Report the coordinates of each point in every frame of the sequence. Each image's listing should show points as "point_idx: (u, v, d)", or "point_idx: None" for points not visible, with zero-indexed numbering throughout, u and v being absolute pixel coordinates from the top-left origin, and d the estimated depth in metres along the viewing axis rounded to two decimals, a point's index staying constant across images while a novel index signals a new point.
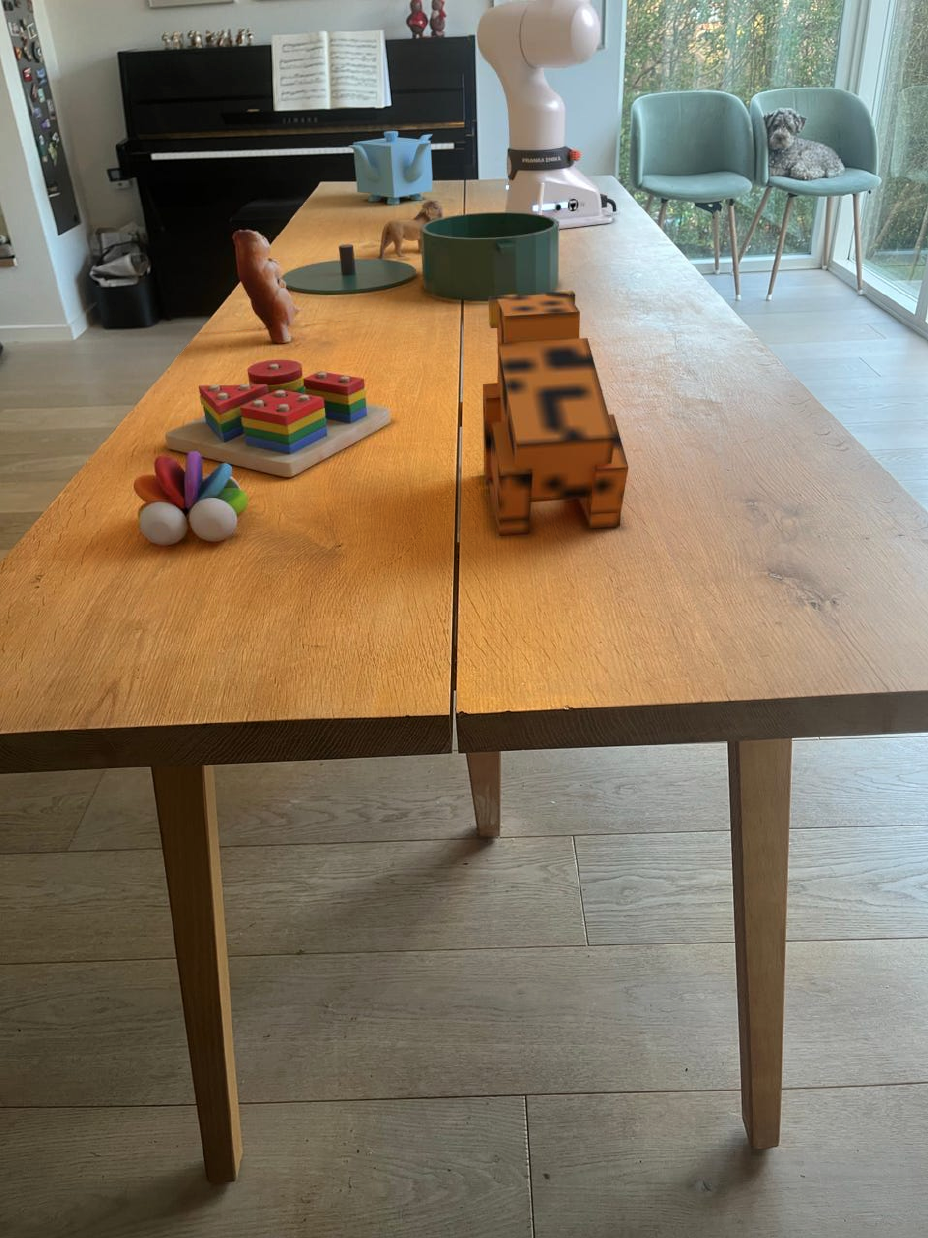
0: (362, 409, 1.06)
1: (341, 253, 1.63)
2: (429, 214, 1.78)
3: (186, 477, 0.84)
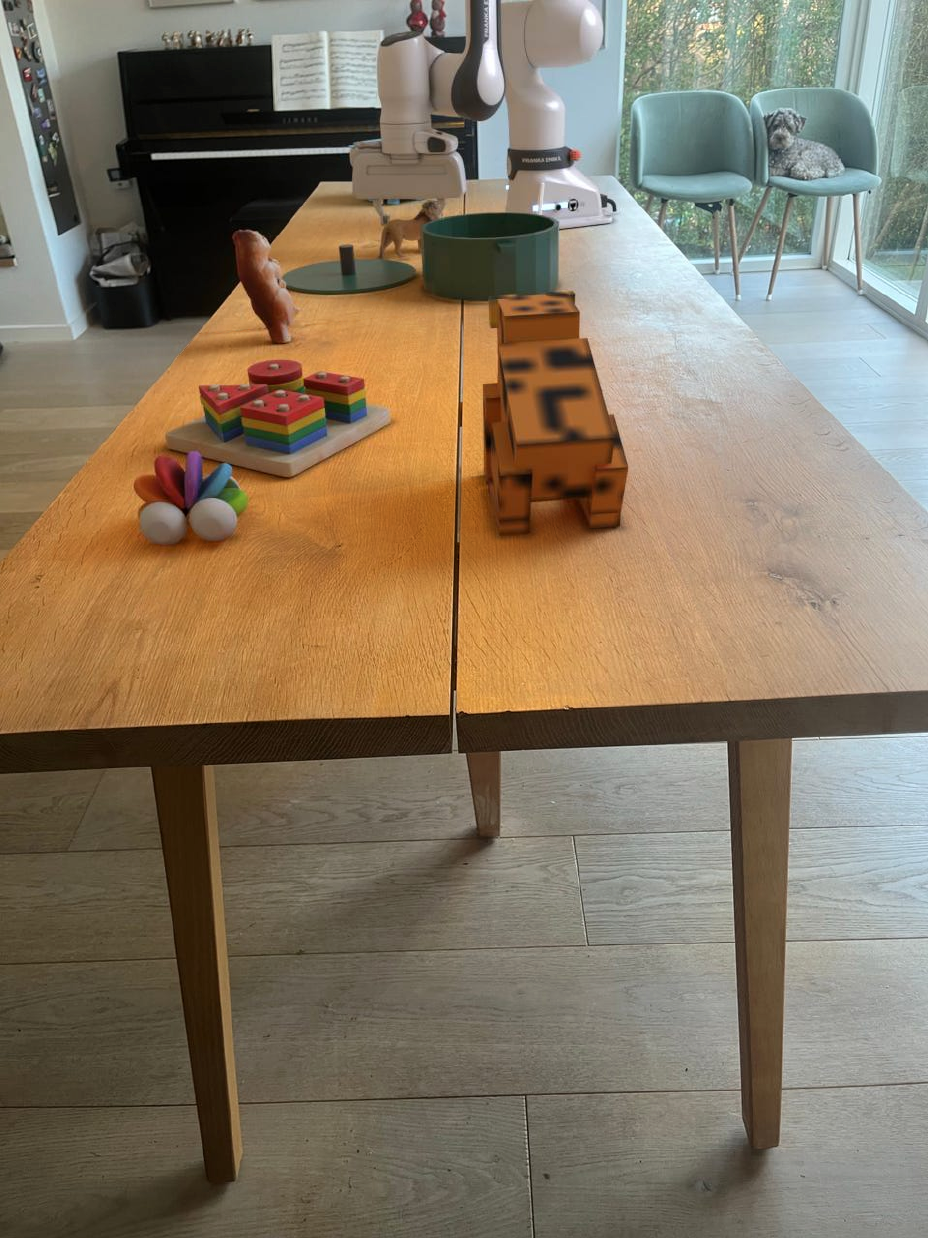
0: (362, 409, 1.06)
1: (341, 253, 1.63)
2: (429, 214, 1.78)
3: (186, 477, 0.84)
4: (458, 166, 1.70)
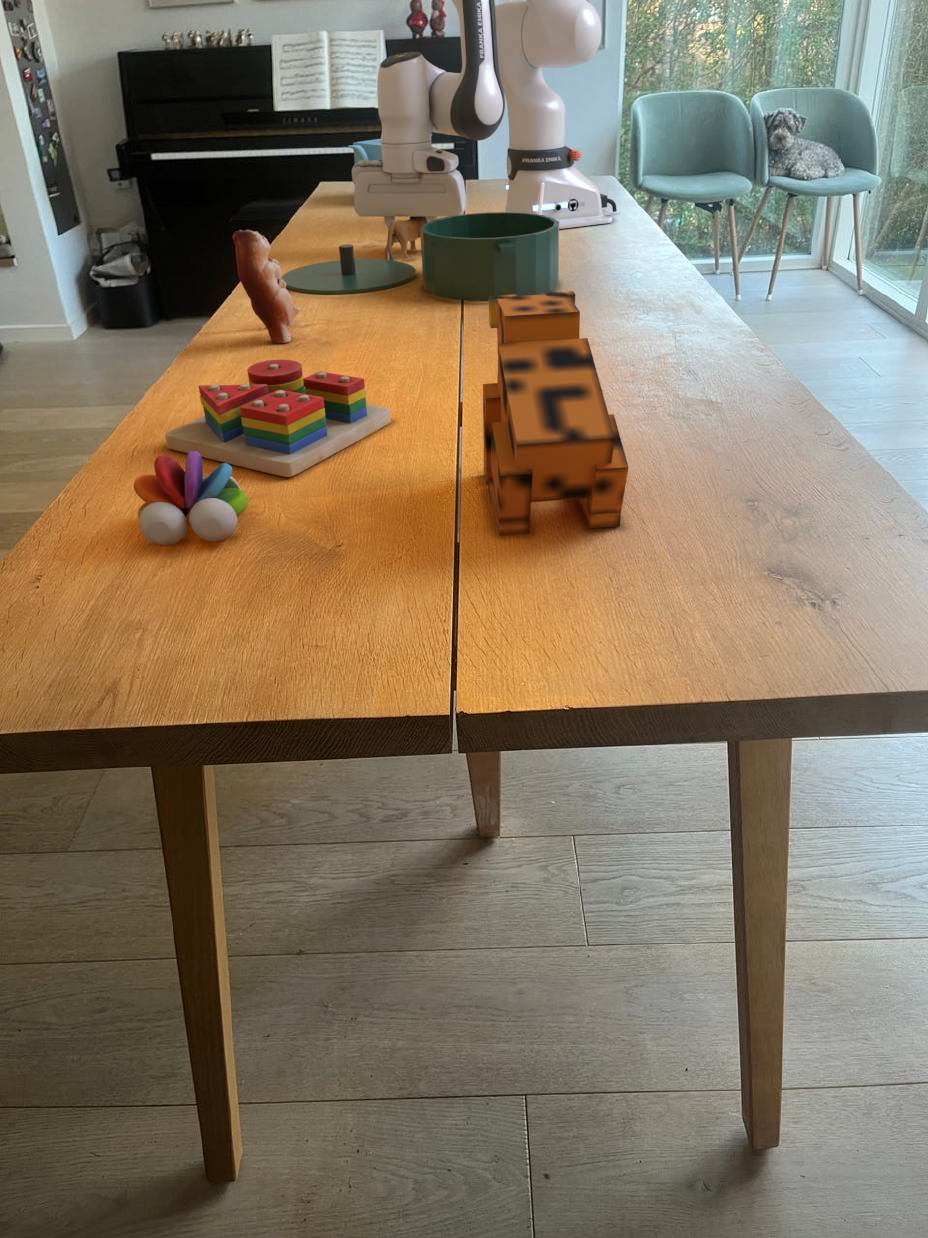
0: (362, 409, 1.06)
1: (341, 253, 1.63)
2: None
3: (186, 477, 0.84)
4: (457, 185, 1.71)
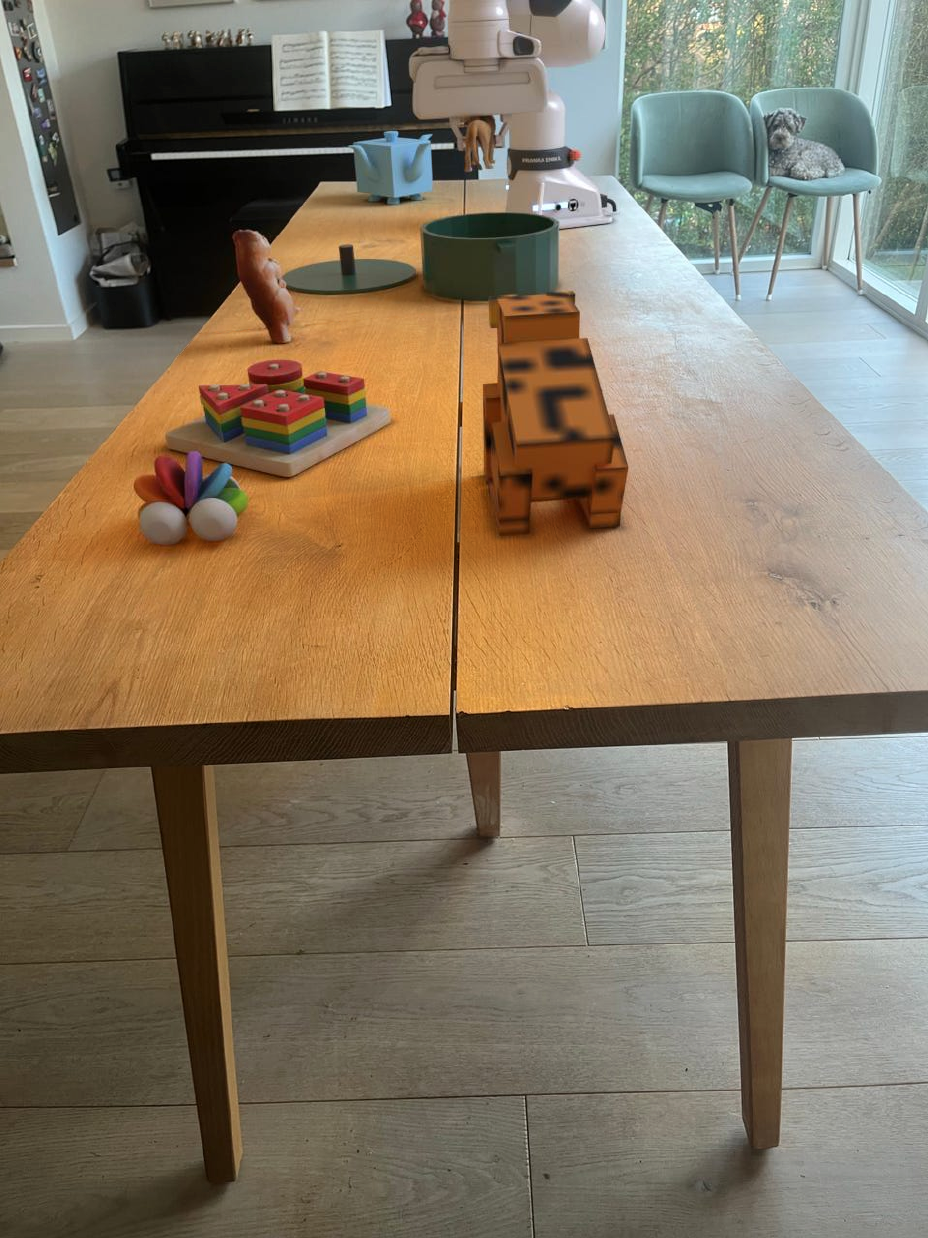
0: (362, 409, 1.06)
1: (341, 253, 1.63)
2: None
3: (186, 477, 0.84)
4: (545, 72, 1.44)
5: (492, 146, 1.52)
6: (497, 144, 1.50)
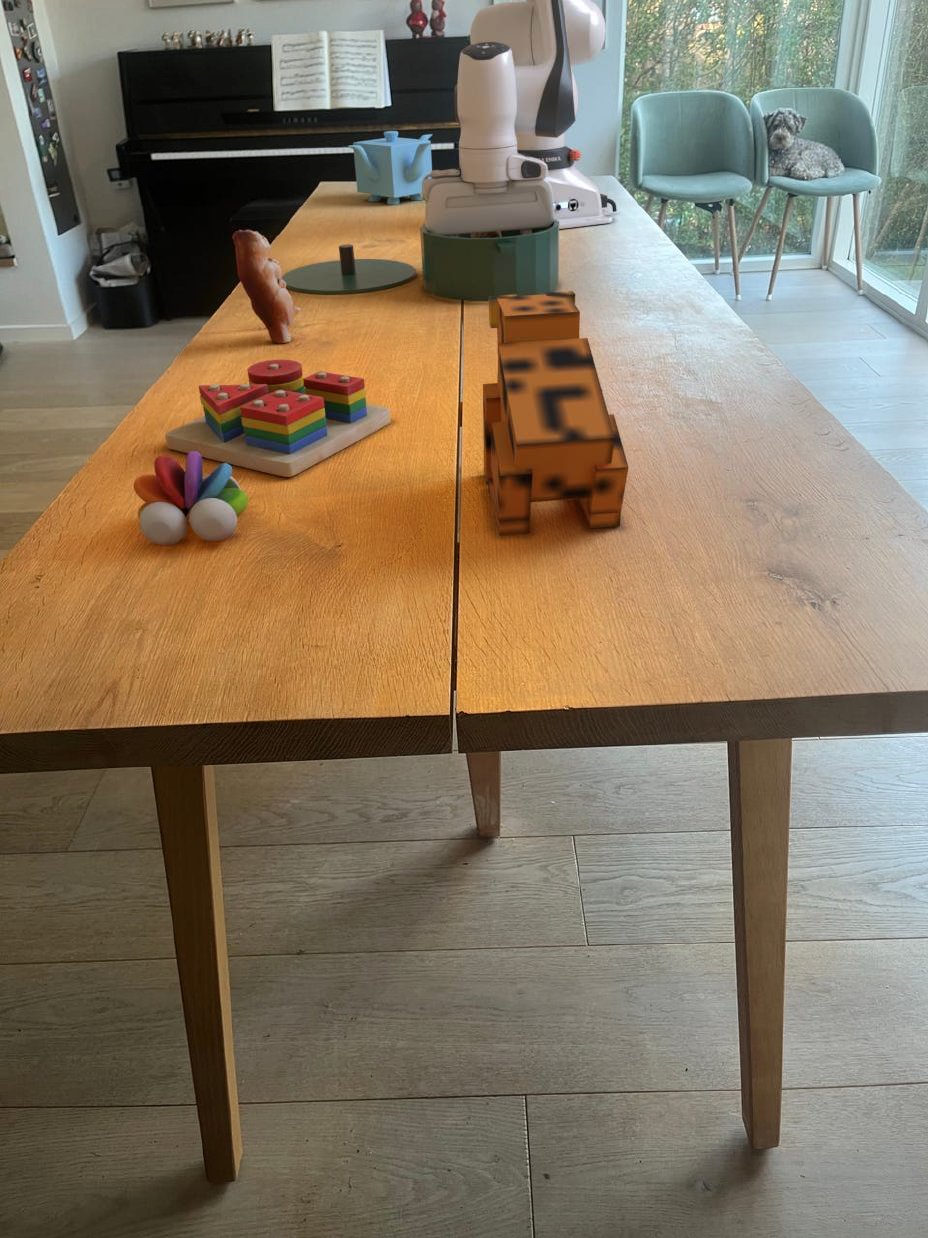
0: (362, 409, 1.06)
1: (341, 253, 1.63)
2: (499, 235, 1.58)
3: (186, 477, 0.84)
4: (551, 192, 1.51)
5: None
6: None
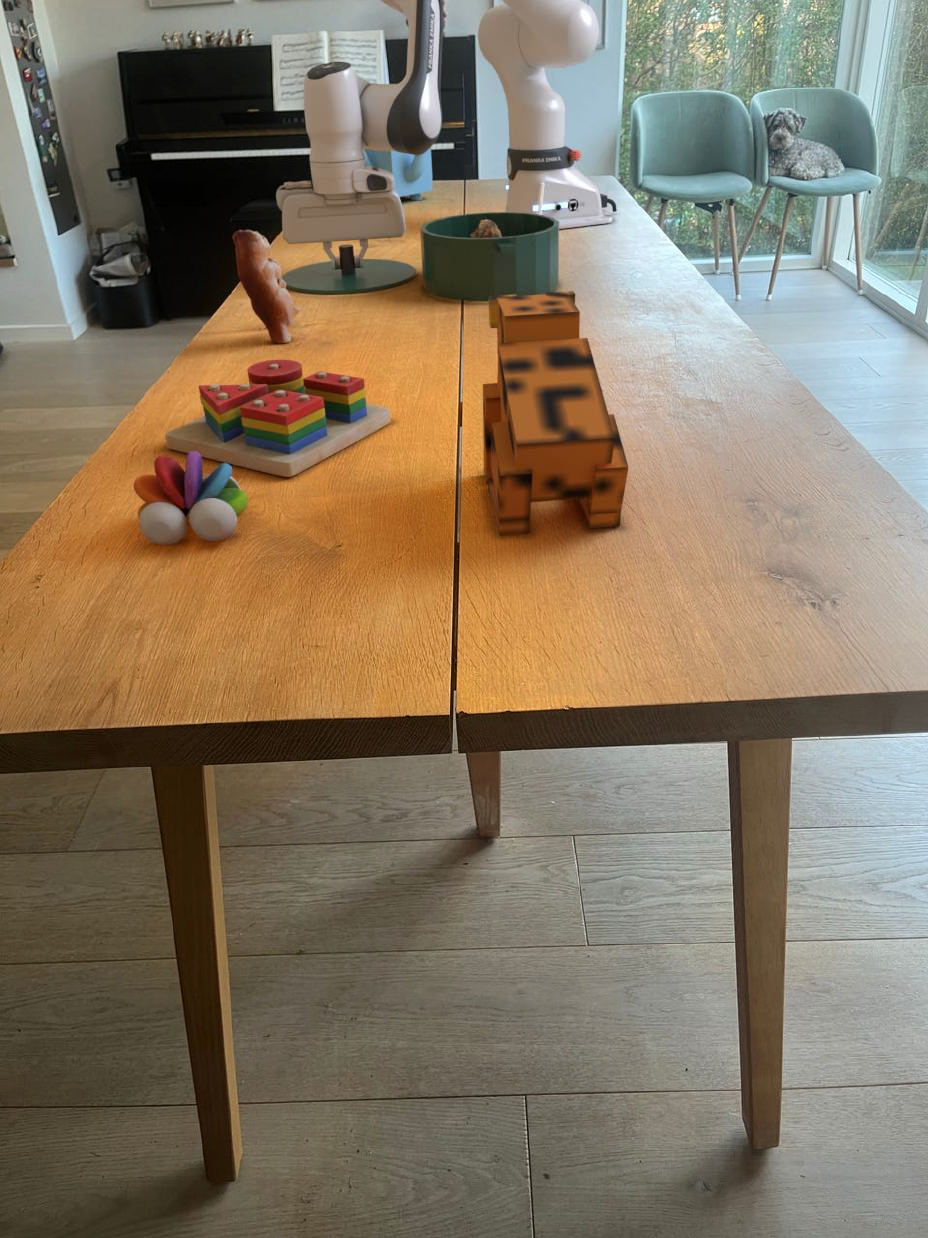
0: (362, 409, 1.06)
1: (341, 253, 1.63)
2: (499, 235, 1.58)
3: (186, 477, 0.84)
4: (400, 204, 1.59)
5: None
6: (356, 264, 1.65)
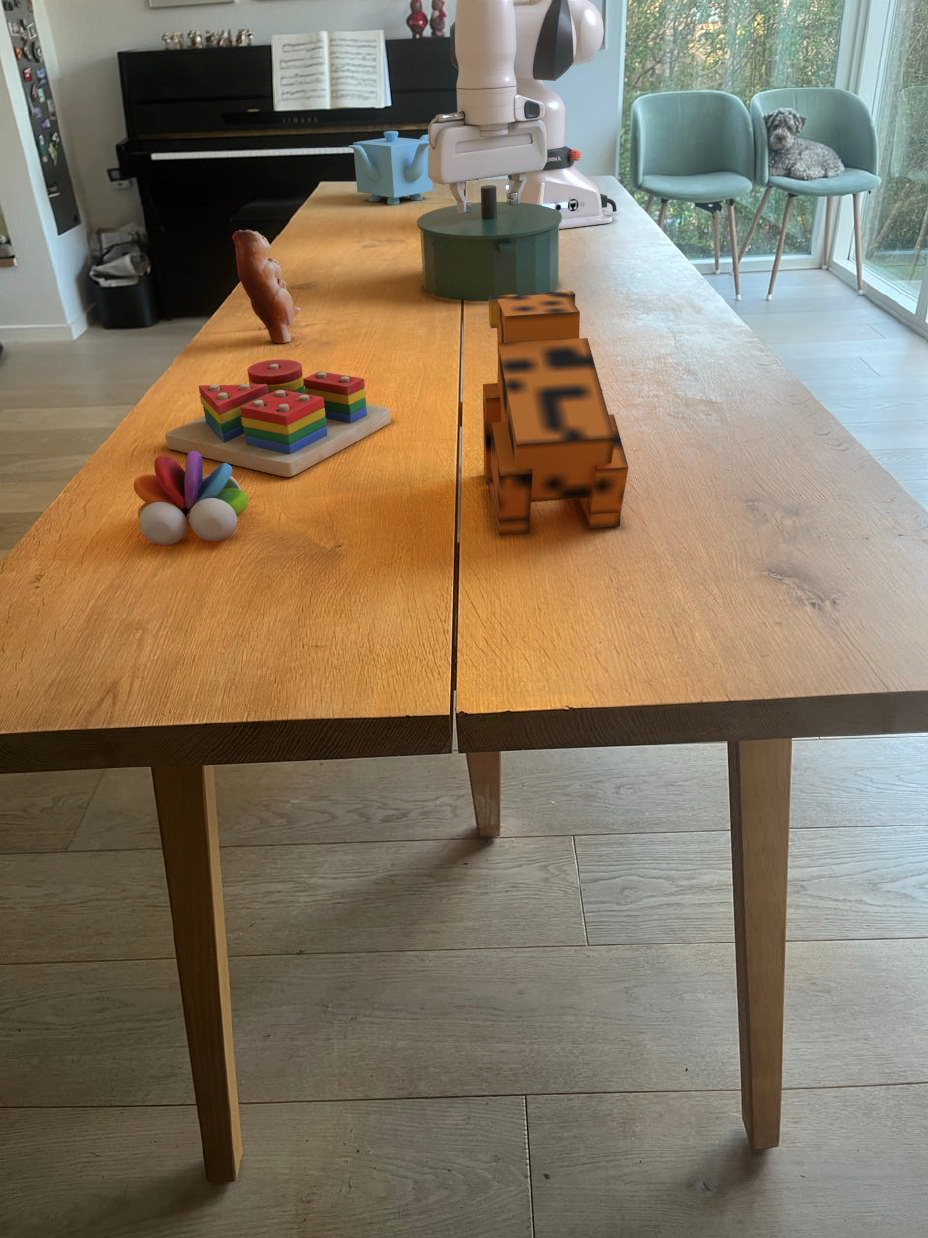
0: (362, 409, 1.06)
1: (487, 195, 1.51)
2: None
3: (186, 477, 0.84)
4: (546, 133, 1.51)
5: None
6: (514, 201, 1.54)
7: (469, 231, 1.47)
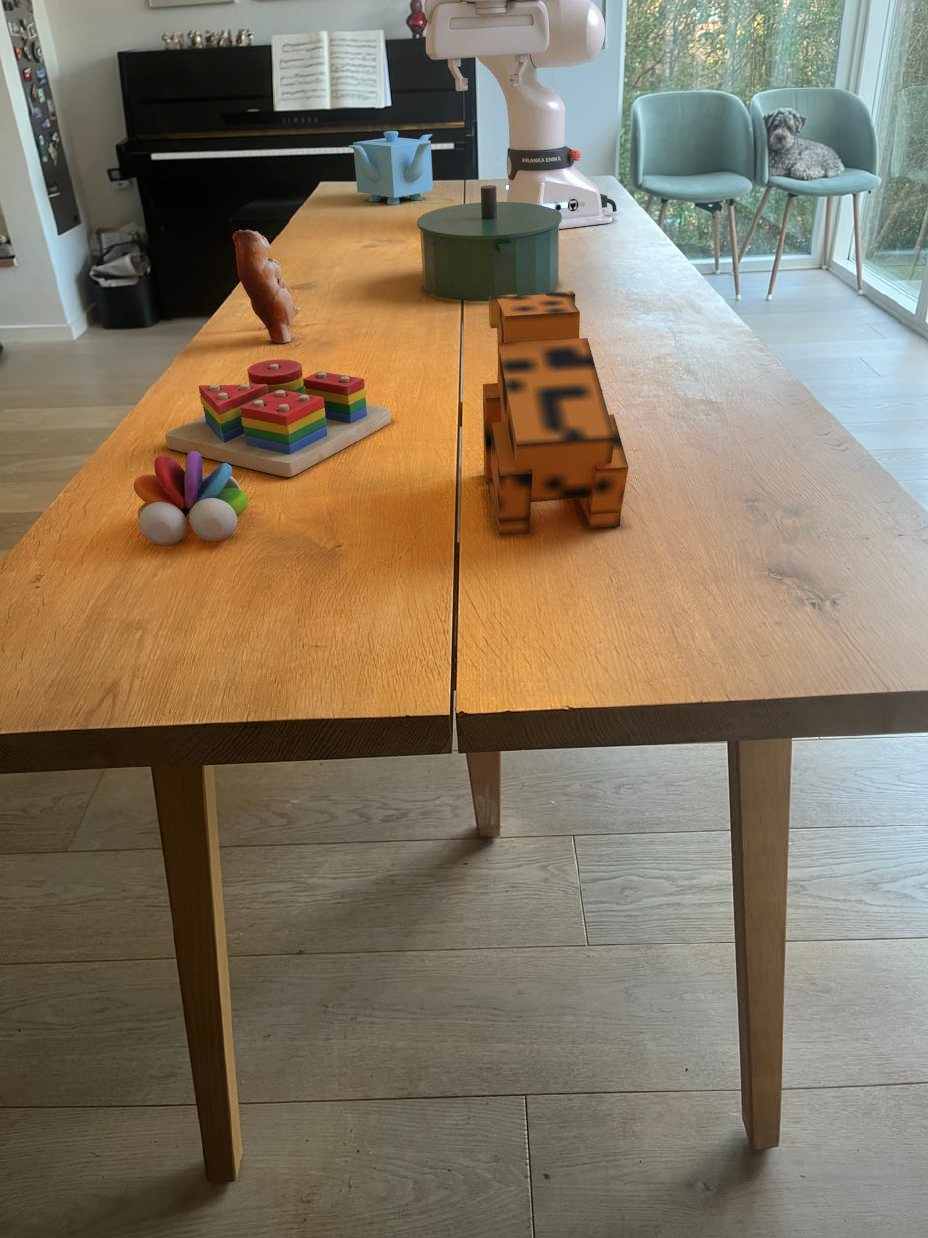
0: (362, 409, 1.06)
1: (487, 195, 1.51)
2: None
3: (186, 477, 0.84)
4: (547, 14, 1.56)
5: None
6: (515, 82, 1.61)
7: (469, 231, 1.47)
